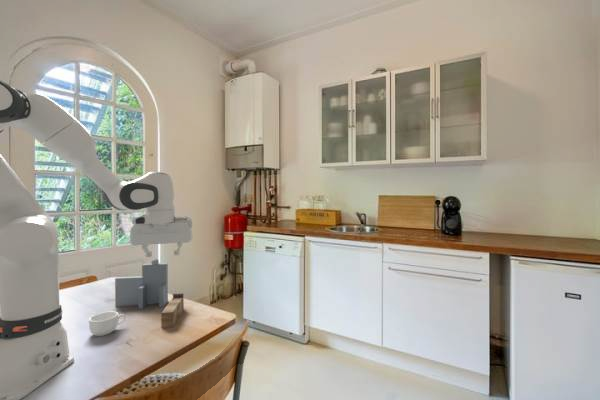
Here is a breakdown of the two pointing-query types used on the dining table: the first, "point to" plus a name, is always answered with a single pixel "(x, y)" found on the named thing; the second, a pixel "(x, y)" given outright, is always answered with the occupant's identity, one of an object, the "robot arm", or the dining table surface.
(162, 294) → the stepped grey building model
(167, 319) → the wooden block
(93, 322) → the teacup
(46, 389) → the dining table surface
